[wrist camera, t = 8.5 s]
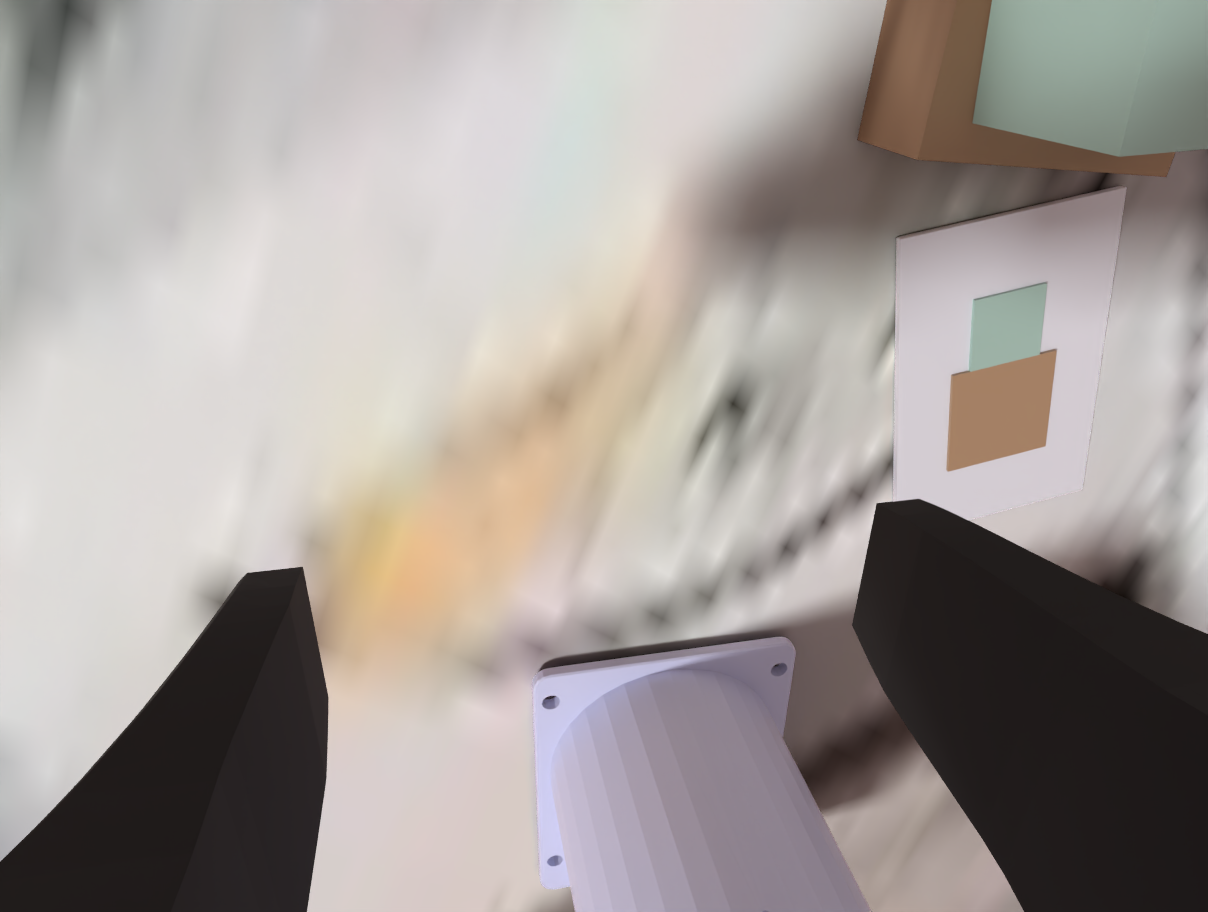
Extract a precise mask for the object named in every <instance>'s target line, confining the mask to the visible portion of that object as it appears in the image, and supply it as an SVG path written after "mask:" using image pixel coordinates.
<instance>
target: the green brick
mask: <svg viewBox="0 0 1208 912" xmlns="http://www.w3.org/2000/svg"><path fill="white" fill-rule="evenodd" d="M972 123H974V124H978V125H982V126H987V127H991V128H995V129H1000V130H1004V131H1009V132H1013V133H1017V134H1022V135H1026V136H1030V137H1035V138H1039V139H1044V140H1048V141H1052V142H1057V143H1061V144H1065V145H1070V146H1074V147H1079V148H1083V149H1087V150H1092V151H1096V152H1100V153H1105V154H1109V155H1114V156H1118V157H1123V156H1134V155H1145V154H1157V153H1168V152H1180V151H1191V150H1202V149H1208V0H992V4H991V10H990V16H989V22H988V28H987V35H986V41H985V47H984V53H983V60H982V66H981V72H980V78H979V85H978V91H977V97H976V103H975V110H974V116H973V122H972Z"/></svg>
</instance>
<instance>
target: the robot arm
mask: <svg viewBox="0 0 1208 912" xmlns="http://www.w3.org/2000/svg"><path fill="white" fill-rule="evenodd" d="M852 626H853V628H854V630H855V632H856V634H857V637H858V639H859V641H860V643H861V645H862V647H863V650H864V652H865V654H866V656H867V658H868V660H869V662H870V664H871V666H872V668H873V670H874V672H875V674H876V676H877V678H878V680H879V682H880V684H881V686H882V688H883V690H884V692H885V693H886V695H887V697H888V698H889V700H890V701H891V703H892V704H893V706H894V708H895V709H896V711H897V712H898V714H899V715H900V717H901V718H902V720H903V721H904V723H905V724H906V726H907V727H908V729H909V730H910V732H911V733H912V735H913V736H914V738H915V739H916V741H917V742H918V744H919V745H920V747H921V748H922V750H923V751H924V753H925V754H926V756H927V757H928V759H929V760H930V762H931V763H932V765H933V766H934V768H935V769H936V771H937V772H938V774H939V775H940V777H941V778H942V780H943V781H944V783H945V784H946V786H947V787H948V789H949V790H950V791H951V793H952V794H953V796H954V797H955V799H956V800H957V802H958V803H959V805H960V806H961V808H962V809H963V811H964V812H965V814H966V815H967V817H968V818H969V820H970V821H971V823H972V824H973V826H974V827H975V829H976V830H977V832H978V833H979V835H980V836H981V838H982V839H983V841H984V842H985V844H986V846H987V847H988V849H989V850H990V852H991V854H992V855H993V857H994V859H995V860H996V862H997V863H998V865H999V867H1000V868H1001V870H1002V872H1003V873H1004V875H1005V877H1006V879H1007V880H1008V882H1009V884H1010V886H1011V888H1012V890H1013V892H1014V893H1015V895H1016V897H1017V899H1018V901H1019V903H1020V905H1021V906H1022V908H1023V910H1024V912H1208V634H1206V633H1204V632H1201V631H1199V630H1196V629H1194V628H1192V627H1189V626H1187V625H1184V624H1182V623H1180V622H1177V621H1175V620H1173V619H1171V618H1169V617H1166V616H1164V615H1162V614H1160V613H1157V612H1155V611H1153V610H1151V609H1149V608H1146V607H1144V606H1142V605H1140V604H1137V603H1135V602H1133V601H1131V600H1129V599H1126V598H1124V597H1122V596H1120V595H1118V594H1116V593H1113V592H1111V591H1109V590H1107V589H1105V588H1103V587H1101V586H1099V585H1097V584H1095V583H1092V582H1090V581H1088V580H1086V579H1084V578H1082V577H1080V576H1078V575H1076V574H1074V573H1072V572H1070V571H1068V570H1066V569H1064V568H1062V567H1060V566H1058V565H1056V564H1054V563H1052V562H1050V561H1048V560H1046V559H1044V558H1042V557H1040V556H1038V555H1036V554H1034V553H1032V552H1030V551H1028V550H1026V549H1024V548H1022V547H1020V546H1018V545H1016V544H1014V543H1012V542H1010V541H1008V540H1006V539H1004V538H1002V537H1000V536H999V535H997V534H995V533H993V532H991V531H989V530H987V529H985V528H983V527H981V526H979V525H977V524H975V523H972V522H970V521H968V520H966V519H964V518H962V517H960V516H958V515H956V514H954V513H952V512H950V511H947V510H945V509H943V508H941V507H938V506H936V505H934V504H931V503H929V502H926V501H924V500H921V499H912V500H903V501H894V502H885V503H877V505H876V510H875V515H874V520H873V525H872V530H871V535H870V539H869V544H868V549H867V554H866V559H865V564H864V569H863V574H862V579H861V584H860V589H859V594H858V599H857V604H856V609H855V614H854V619H853V623H852ZM795 656H796V650H795V648H794V646H793V644H792V643H791V641H790V640H789V639H788V638H786V637H772V638H765V639H758V640H750V641H743V642H736V643H728V644H721V645H714V646H706V647H699V648H692V649H684V650H677V651H670V652H662V653H655V654H648V655H640V656H633V657H626V658H618V659H611V660H603V661H596V662H589V663H581V664H574V665H567V666H559V667H552V668H547V669H543V670H541V671H540V672H538V673H537V674H536V675H535V676H534V678H533V680H532V701H533V727H534V753H535V778H536V804H537V830H538V855H539V876H540V882H541V885H542V886H543V887H545V888H547V889H559V888H564V887H570V888H571V893H572V898H573V903H574V909H575V912H872V911H871V909H870V907H869V905H868V903H867V901H866V899H865V898H864V896H863V894H862V892H861V890H860V888H859V886H858V884H857V882H856V880H855V878H854V876H853V874H852V872H851V870H850V868H849V866H848V864H847V862H846V860H845V858H844V857H843V855H842V853H841V851H840V849H839V847H838V845H837V843H836V841H835V839H834V837H833V835H832V833H831V831H830V829H829V827H828V825H827V823H826V821H825V819H824V817H823V816H822V814H821V812H820V810H819V808H818V806H817V804H816V802H815V800H814V798H813V796H812V794H811V792H810V790H809V788H808V786H807V784H806V782H805V780H804V778H803V777H802V775H801V773H800V771H799V769H798V767H797V765H796V763H795V761H794V759H793V757H792V755H791V753H790V751H789V749H788V747H787V745H786V743H785V741H784V739H783V734H784V728H785V721H786V715H787V708H788V702H789V695H790V689H791V682H792V676H793V669H794V663H795ZM779 663H781V664H779ZM776 664H779V665H778V666H776V667H774V666H775V665H776ZM772 667H774V668H772ZM548 696H555V697H554V698H553V699H550V700H547V699H545V698H546V697H548ZM327 742H328V693H327V688H326V683H325V678H324V673H323V668H322V663H321V658H320V652H319V647H318V642H317V637H316V632H315V627H314V622H313V617H312V612H311V607H310V602H309V596H308V591H307V586H306V581H305V576H304V571H303V567H298V568H289V569H280V570H271V571H261V572H252V573H247V574H246V575H245V576H244V577H243V578H242V579H241V580H240V581H239V582H238V584H237V585H236V586H235V588H234V589H233V591H232V592H231V593H230V595H229V596H228V597H227V599H226V600H225V602H224V603H223V604H222V606H221V607H220V609H219V610H218V611H217V613H216V614H215V615H214V617H213V618H212V620H211V621H210V622H209V624H208V625H207V626H206V628H205V629H204V630H203V632H202V633H201V634H200V636H199V637H198V638H197V640H196V641H195V642H194V644H193V645H192V646H191V648H190V649H189V650H188V652H187V653H186V654H185V656H184V657H183V658H182V660H181V661H180V662H179V664H178V665H177V666H176V667H175V669H174V670H173V671H172V672H171V674H170V675H169V676H168V677H167V679H166V680H165V681H164V682H163V684H162V685H161V686H160V687H159V689H158V690H157V691H156V692H155V694H154V695H153V696H152V698H151V699H150V700H149V701H148V703H147V704H146V705H145V706H144V708H143V709H142V710H141V711H140V712H139V714H138V715H137V716H136V717H135V718H134V720H133V721H132V722H131V723H130V724H129V725H128V727H127V728H126V729H125V730H124V731H123V732H122V733H121V734H120V736H119V737H118V738H117V739H116V740H115V741H114V742H113V744H112V745H111V746H110V747H109V748H108V749H107V750H106V752H105V753H104V754H103V755H102V756H101V757H100V758H99V760H98V761H97V762H96V763H95V764H94V765H93V766H92V767H91V769H90V770H89V771H88V772H87V773H86V774H85V775H84V777H83V778H82V779H81V780H80V781H79V782H78V783H77V784H76V785H75V786H74V788H73V789H72V790H71V791H70V792H69V793H68V794H67V795H66V796H65V797H64V798H63V799H62V800H61V801H60V802H59V803H58V804H57V805H56V807H55V808H54V809H53V810H52V811H51V812H50V813H49V814H48V815H47V816H46V817H45V818H44V819H43V820H42V821H41V822H40V823H39V824H38V825H37V826H36V827H35V828H34V829H33V830H32V831H31V832H30V833H29V834H28V835H27V836H26V837H25V838H24V839H23V840H22V841H21V842H20V843H19V844H18V845H17V846H16V847H15V848H14V849H13V850H12V851H11V852H10V853H9V854H8V855H7V856H6V857H5V858H4V859H3V860H2V861H1V862H0V912H307V906H308V900H309V893H310V886H311V880H312V873H313V866H314V860H315V853H316V846H317V840H318V833H319V826H320V819H321V812H322V805H323V798H324V791H325V784H326V771H327Z"/></svg>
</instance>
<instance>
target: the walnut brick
mask: <svg viewBox="0 0 1208 912" xmlns="http://www.w3.org/2000/svg"><path fill="white" fill-rule="evenodd" d="M991 4H992V0H887V4H886V8H885V13H884V18H883V22H882V27H881V32H880V36H879V41H878V46H877V50H876V55H875V59H874V64H873V69H872V73H871V78H870V83H869V87H868V92H867V97H866V101H865V106H864V111H863V115H862V120H861V124H860V129H859V134H858V138H857V140H859V141H862V142H865V143H868V144H871V145H874V146H877V147H880V148H883V149H886V150H889V151H892V152H895V153H898V154H901V155H904V156H907V157H910V158H913V159H916V160H927V161H941V162H956V163H970V164H985V165H1000V166H1014V167H1029V168H1043V169H1058V170H1073V171H1087V172H1102V173H1116V174H1131V175H1146V176H1160V177H1166V176H1167V174H1168V171H1169V168H1170V166H1171V163H1172V160H1173V158H1174V155H1175V152H1168V153H1157V154H1145V155H1134V156H1123V157H1118V156H1114V155H1109V154H1105V153H1100V152H1096V151H1092V150H1087V149H1083V148H1079V147H1074V146H1070V145H1065V144H1061V143H1057V142H1052V141H1048V140H1044V139H1039V138H1035V137H1030V136H1026V135H1022V134H1017V133H1013V132H1009V131H1004V130H1000V129H995V128H991V127H987V126H982V125H978V124H974V123H972V122H973V116H974V110H975V103H976V97H977V91H978V85H979V78H980V72H981V66H982V60H983V53H984V47H985V41H986V35H987V28H988V22H989V16H990V10H991Z"/></svg>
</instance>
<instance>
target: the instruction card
mask: <svg viewBox="0 0 1208 912" xmlns="http://www.w3.org/2000/svg"><path fill="white" fill-rule="evenodd" d="M1126 190H1127V187H1124V186H1117V187H1113V188H1109V189H1104V190H1100V191H1096V192H1091V193H1087V194H1082V195H1078V196H1074V197H1069V198H1065V199H1061V200H1056V201H1052V202H1048V203H1043V204H1039V205H1035V206H1030V207H1026V208H1022V209H1017V210H1013V211H1009V212H1004V213H1000V214H996V215H991V216H987V217H983V218H978V219H974V220H969V221H965V222H961V223H956V224H952V225H948V226H943V227H939V228H935V229H930V230H926V231H922V232H917V233H913V234H909V235H904V236H900V237H896V310H895V387H894V464H893V502H894V501H903V500H912V499H921V500H924V501H926V502H929V503H931V504H934V505H936V506H938V507H941V508H943V509H945V510H947V511H950V512H952V513H954V514H956V515H958V516H960V517H962V518H964V519H966V520H968V521H969V520H972V519H976V518H980V517H984V516H987V515H991V514H995V513H998V512H1002V511H1006V510H1010V509H1013V508H1017V507H1021V506H1025V505H1028V504H1032V503H1036V502H1039V501H1043V500H1047V499H1051V498H1054V497H1058V496H1062V495H1066V494H1069V493H1073V492H1077V491H1080V490H1083V483H1084V476H1085V469H1086V462H1087V456H1088V449H1089V442H1090V435H1091V428H1092V422H1093V415H1094V408H1095V401H1096V394H1097V388H1098V381H1099V374H1100V367H1101V360H1102V354H1103V347H1104V340H1105V333H1106V326H1107V319H1108V313H1109V306H1110V299H1111V292H1112V285H1113V279H1114V272H1115V265H1116V258H1117V251H1118V245H1119V238H1120V231H1121V224H1122V217H1123V211H1124V204H1125V197H1126Z"/></svg>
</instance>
